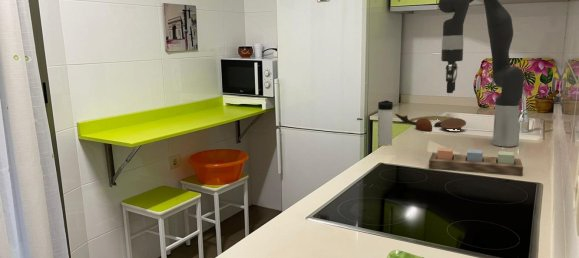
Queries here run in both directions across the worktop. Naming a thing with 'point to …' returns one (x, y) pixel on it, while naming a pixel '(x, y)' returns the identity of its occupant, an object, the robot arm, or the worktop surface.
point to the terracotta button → (445, 153)
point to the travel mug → (385, 123)
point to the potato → (424, 125)
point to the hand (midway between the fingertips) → (450, 91)
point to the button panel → (476, 165)
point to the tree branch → (406, 120)
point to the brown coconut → (453, 123)
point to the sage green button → (506, 157)
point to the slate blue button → (474, 155)
